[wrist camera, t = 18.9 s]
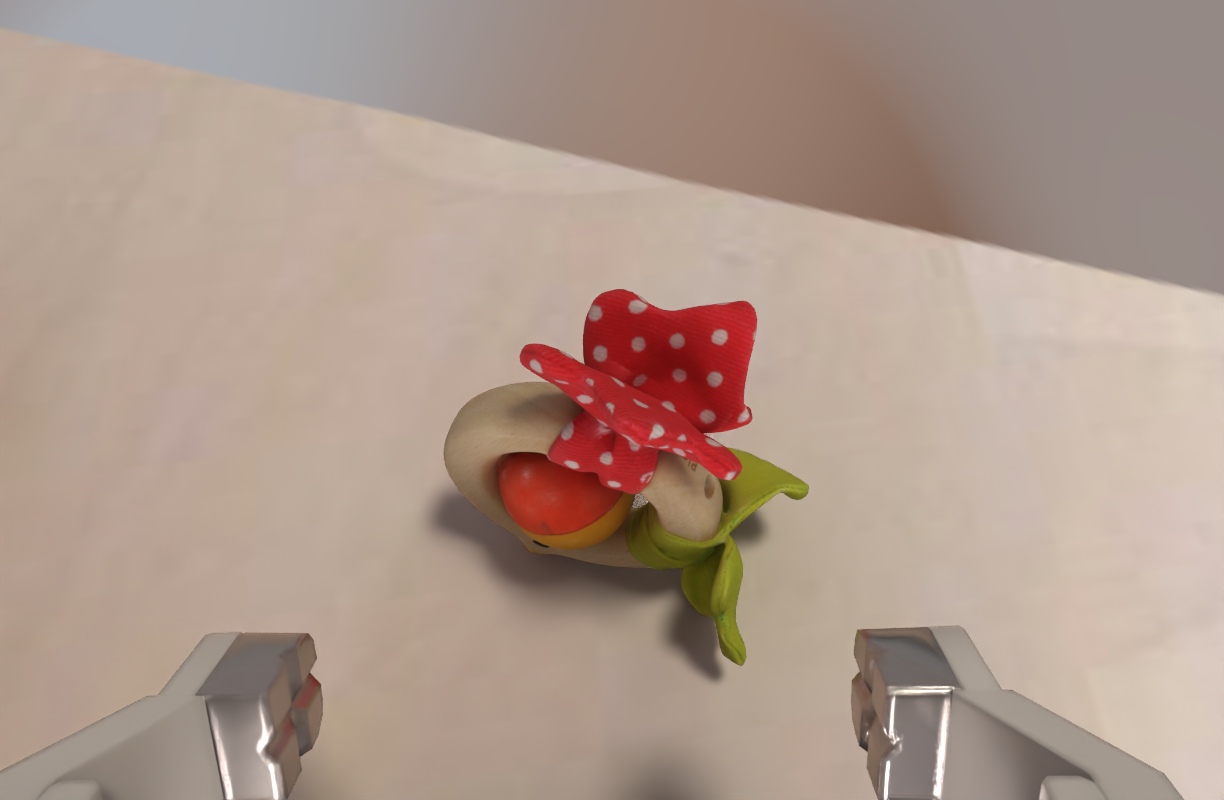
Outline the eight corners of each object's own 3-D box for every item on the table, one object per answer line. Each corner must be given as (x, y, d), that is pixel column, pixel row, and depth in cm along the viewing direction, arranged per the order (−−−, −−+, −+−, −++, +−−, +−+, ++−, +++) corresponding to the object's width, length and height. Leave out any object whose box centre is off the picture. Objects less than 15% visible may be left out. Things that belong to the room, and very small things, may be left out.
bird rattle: (534, 656, 28) (835, 684, 24) (271, 524, 19) (670, 531, 15) (574, 465, 31) (851, 460, 27) (359, 275, 22) (718, 223, 18)
